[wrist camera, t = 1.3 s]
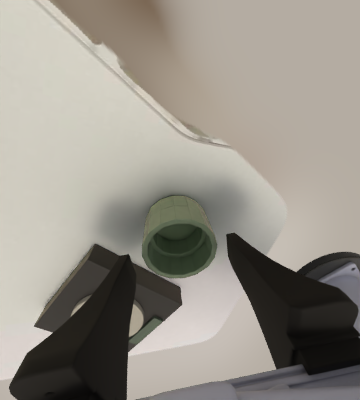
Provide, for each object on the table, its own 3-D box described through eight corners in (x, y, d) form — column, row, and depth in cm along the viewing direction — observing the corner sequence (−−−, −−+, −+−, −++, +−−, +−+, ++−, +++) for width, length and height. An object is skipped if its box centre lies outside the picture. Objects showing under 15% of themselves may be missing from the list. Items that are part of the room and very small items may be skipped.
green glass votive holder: (215, 221, 18) (230, 251, 14) (172, 252, 20) (175, 288, 16) (179, 181, 16) (185, 203, 12) (133, 218, 17) (125, 250, 13)
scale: (180, 287, 22) (183, 310, 19) (127, 335, 25) (124, 361, 22) (95, 243, 18) (84, 264, 16) (45, 306, 21) (29, 332, 19)
